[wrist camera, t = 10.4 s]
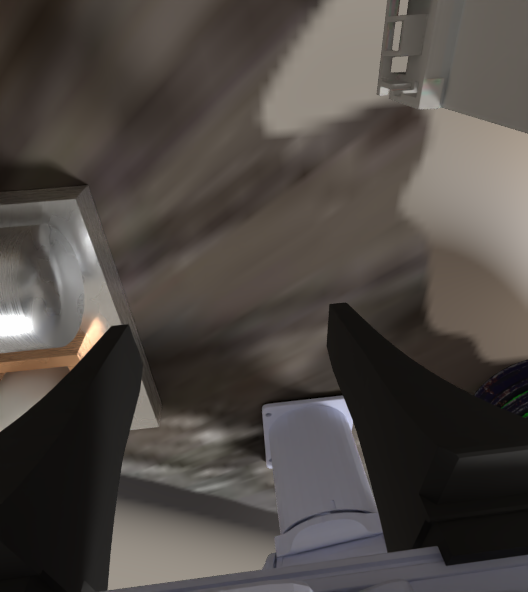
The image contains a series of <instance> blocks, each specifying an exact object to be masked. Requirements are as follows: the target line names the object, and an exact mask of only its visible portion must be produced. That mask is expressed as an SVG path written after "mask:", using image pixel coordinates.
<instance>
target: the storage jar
mask: <svg viewBox="0 0 528 592" xmlns="http://www.w3.org/2000/svg"><path fill="white" fill-rule="evenodd" d="M474 396H476V397H478V398H480V399H482V400H484V401H486V402H488V403H490V404H493V405H495V406H497V407H500V408H502V409H505V410H507V411H509V412H512V413H514V414H517V415H519V416H522V417H524V418H527V419H528V360H525V361H522V362H519V363H517V364H514V365H512V366H510V367H508V368H506V369H504V370H502V371H500V372H499V373H497V374H496V375H494V376H493V377H491V378H490V379H489V380H488V381H486V382H485V383H484V384H483V385H482V386H481V387H480V388H479V389H478V391H477V392H476V393H475V395H474Z"/></svg>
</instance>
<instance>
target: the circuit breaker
mask: <svg viewBox="0 0 528 592" xmlns="http://www.w3.org/2000/svg"><path fill="white" fill-rule="evenodd" d="M399 4H400V0H388V1H387V9H386V17H385V26H384V35H383V43H382V52H381V61H380V70H379V79H378V87H377V95H379V96H381V95H388V90H389V89H390V93H389V99H391V100H394V101H396V102H399V103H402V104H405V105H408V106H411V107H414V108H417V109H438V108H441V107H442V108H445V109H449V110H452V111H455V112H458V113H462V114H465V115H468V116H472V117H475V118H478V119H482V120H485V121H488V122H492V123H495V124H498V125H501V126H505V127H508V128H511V129H515V130H518V131H521V132H525V133H528V0H409V2H408V9H407V15H400V16H398V12H399ZM397 21H402V29H401V36H400V43H399V51H393V50H392V44H393V35H394V28H395V22H397ZM396 56H409V57H408V63H407V69H406V72H399V73H390V72H391V64H392V57H396Z"/></svg>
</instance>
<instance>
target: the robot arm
mask: <svg viewBox="0 0 528 592" xmlns="http://www.w3.org/2000/svg"><path fill="white" fill-rule="evenodd" d="M327 349H328V353H329V357H330V361H331V365H332V369H333V372H334V374H335V377H336V379H337V382H338V385H339V387H340V390H341V392H342V396H333V397H324V398H315V399H306V400H297V401H288V402H279V403H270V404H265V405H263V406H262V417H263V429H264V440H265V452H266V464H267V467H268V468H273V475H274V483H275V492H276V500H277V508H278V517H279V525H280V533H281V535H279V536H275V547H276V553H271V554H270V555H268V557H267V559H266V563H265V565H264V567H263V569H262V570H256V571H249V572H241V573H234V574H226V575H219V576H212V577H205V578H197V579H190V580H182V581H175V582H167V583H160V584H152V585H145V586H138V587H131V588H123V589H116V590H108V591H107V588H108V576H109V564H110V552H111V543H112V534H113V524H114V515H115V507H116V500H117V492H118V486H119V479H120V473H121V466H122V460H123V456H124V451H125V447H126V443H127V439H128V436H129V432H130V428H131V424H132V420H133V417H134V413H135V409H136V405H137V401H138V397H139V393H140V388H141V380H142V371H143V363H142V360H141V357H140V354H139V351H138V349H137V346H136V343H135V340H134V337H133V334H132V331H131V329H130V326H129V324H125V325H115V326H111V327H110V328H109V329H108V330H107V331H106V332H105V333H104V335H103V336H102V337H101V338H100V339H99V340H98V341H97V342H96V344H95V345H94V346H93V347H92V348H91V349H90V350H89V351H88V352H87V354H86V355H85V356H84V357H83V358H82V359H81V360H80V361H79V362H78V363H77V364H76V366H75V367H74V368H73V369H72V370H71V371H70V372H69V373H68V374H67V375H66V376H65V377H64V378H63V379H62V380H61V381H60V382H59V383H58V384H57V385H56V386H55V387H54V388H53V389H52V390H51V391H49V392H48V393H47V394H46V395H45V396H44V397H43V398H42V399H41V400H40V401H38V402H37V403H36V404H35V405H34V406H32V407H31V408H30V409H29V410H28V411H27V412H25V413H24V414H23V415H22V416H20V417H19V418H18V419H17V420H15V421H14V422H13V423H11V424H10V425H9V426H7V427H6V428H5V429H3V430H2V431H1V432H0V592H528V419H527V418H524V417H522V416H519V415H517V414H514V413H512V412H509V411H507V410H505V409H502V408H500V407H497V406H495V405H493V404H490V403H488V402H486V401H484V400H482V399H480V398H478V397H476V396H474V395H472V394H470V393H468V392H466V391H464V390H462V389H460V388H458V387H456V386H454V385H453V384H451V383H449V382H447V381H445V380H444V379H442V378H440V377H438V376H437V375H435V374H433V373H432V372H430V371H429V370H427V369H426V368H424V367H423V366H421V365H420V364H418V363H417V362H415V361H414V360H412V359H411V358H409V357H408V356H407V355H405V354H404V353H403V352H401V351H400V350H399V349H397V348H396V347H395V346H394V345H392V344H391V343H390V342H389V341H387V340H386V339H385V338H384V337H383V336H382V335H381V334H379V333H378V332H377V331H376V330H375V329H374V328H373V327H372V326H370V325H369V324H368V323H367V322H366V321H365V320H364V319H363V318H362V317H361V316H360V315H359V314H358V313H357V312H356V311H355V310H354V309H353V308H352V307H350V306H349V305H348V304H347V303H336V304H330V305H329V319H328V334H327ZM353 423H354V425H355V428H356V431H357V434H358V438H359V441H360V445H361V448H362V452H363V455H364V459H365V463H366V466H367V470H368V474H369V478H370V482H371V485H372V489H373V493H374V497H375V501H376V504H375V501H374V498H373V495H372V492H371V489H370V486H369V483H368V480H367V477H366V474H365V471H364V468H363V465H362V462H361V459H360V456H359V453H358V450H357V447H356V444H355V441H354V438H353V435H352V425H353ZM376 505H377V507H376Z"/></svg>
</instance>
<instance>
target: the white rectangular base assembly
mask: <svg viewBox="0 0 528 592" xmlns="http://www.w3.org/2000/svg"><path fill="white" fill-rule="evenodd" d="M125 324H129V326H130V329H131V331H132V334H133V337H134V340H135V343H136V346H137V349H138V351H139V354H140V357H141V360H142V363H143V371H142V380H141V388H140V393H139V397H138V401H137V405H136V409H135V413H134V417H133V420H132V424H131V428H130V430H135V429H144V428H153V427H159V423H160V417H161V411H162V403H161V400H160V397H159V394H158V391H157V388H156V385H155V382H154V379H153V376H152V373H151V370H150V367H149V364H148V361H147V358H146V355H145V352H144V349H143V346H142V343H141V341H140V338H139V335H138V332H137V329H136V326H135V323H134V320H133V317H132V314H131V311H130V308H129V305H128V302H127V299H126V296H125V293H124V290H123V287H122V284H121V281H120V278H119V275H118V272H117V269H116V266H115V264H114V261H113V258H112V255H111V252H110V249H109V246H108V243H107V240H106V237H105V234H104V231H103V228H102V225H101V222H100V219H99V216H98V213H97V210H96V207H95V204H94V201H93V198H92V195H91V192H90V189H89V187H88V185H84V186H71V187H59V188H46V189H34V190H21V191H9V192H0V381H1V379H2V378H3V376H4V375H5V373H7V372H16V371H26V370H35V369H45V368H55V367H64V366H68V368H69V370H70V371H71V370H72V369H73V368H74V367H75V366H76V364H77V363H78V362H79V361H80V360H81V359H82V358H83V357H84V356H85V355H86V354H87V352H88V351H89V350H90V349H91V348H92V347H93V346H94V345H95V344H96V342H97V341H98V340H99V339H100V338H101V337H102V336H103V335H104V333H105V332H106V331H107V330H108V329H109V328H110V327H111V326H115V325H125Z"/></svg>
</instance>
